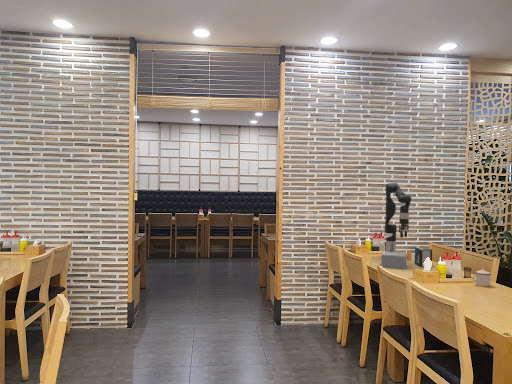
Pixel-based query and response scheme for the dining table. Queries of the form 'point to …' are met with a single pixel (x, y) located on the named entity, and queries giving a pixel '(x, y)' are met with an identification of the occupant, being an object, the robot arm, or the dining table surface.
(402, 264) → the carton
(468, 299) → the dining table surface
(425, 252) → the protein box
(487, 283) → the teacup with lid
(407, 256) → the carton lid
